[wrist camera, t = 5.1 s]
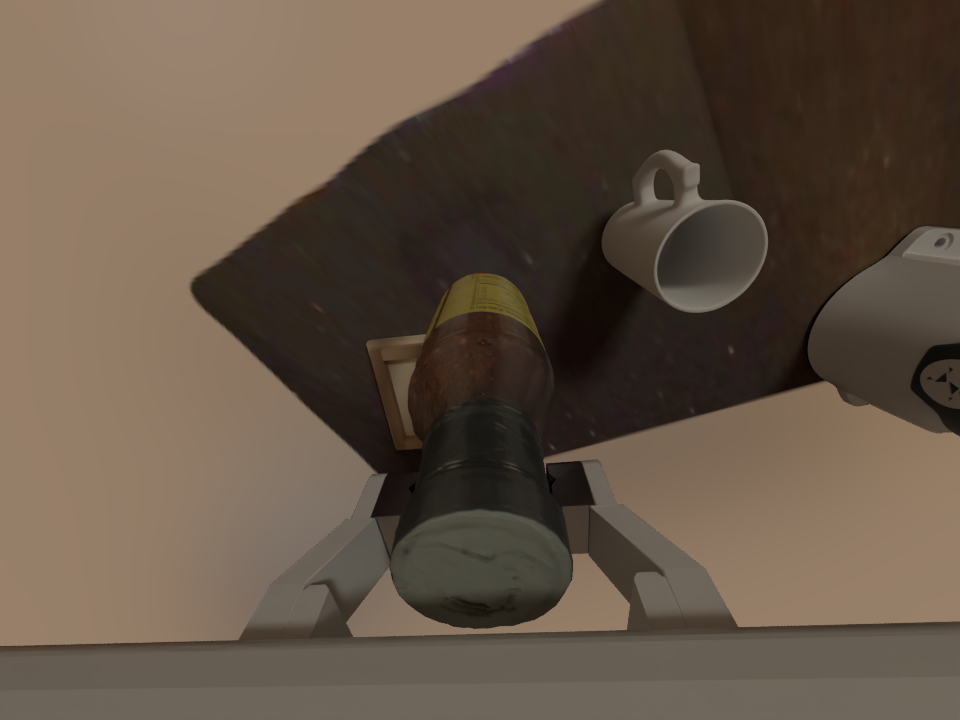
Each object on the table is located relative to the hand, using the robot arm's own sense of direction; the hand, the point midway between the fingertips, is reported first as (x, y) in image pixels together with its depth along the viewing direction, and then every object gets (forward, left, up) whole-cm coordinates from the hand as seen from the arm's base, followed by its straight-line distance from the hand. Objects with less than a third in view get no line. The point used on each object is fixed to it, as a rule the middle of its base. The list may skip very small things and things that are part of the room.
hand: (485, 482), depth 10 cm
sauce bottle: (0, 0, -17) cm, 17 cm away
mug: (-14, -4, -27) cm, 30 cm away
